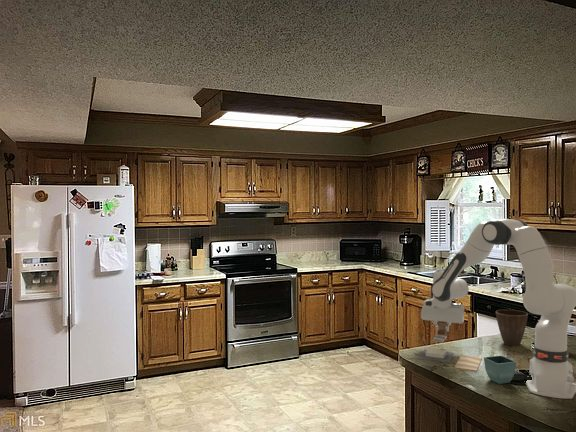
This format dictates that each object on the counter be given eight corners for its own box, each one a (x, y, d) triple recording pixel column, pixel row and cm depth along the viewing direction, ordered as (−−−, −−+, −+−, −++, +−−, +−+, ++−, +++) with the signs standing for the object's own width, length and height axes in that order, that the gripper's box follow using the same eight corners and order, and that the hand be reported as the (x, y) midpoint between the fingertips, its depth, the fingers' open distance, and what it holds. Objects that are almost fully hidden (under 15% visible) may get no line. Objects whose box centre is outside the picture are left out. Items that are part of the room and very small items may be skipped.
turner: (442, 342, 231) (442, 327, 231) (431, 341, 233) (431, 326, 233) (448, 335, 244) (448, 321, 244) (437, 334, 246) (437, 320, 246)
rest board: (476, 372, 208) (476, 370, 208) (454, 368, 213) (454, 367, 213) (482, 359, 226) (482, 357, 226) (461, 356, 230) (461, 354, 230)
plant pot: (490, 343, 252) (490, 312, 252) (504, 338, 262) (504, 308, 262) (519, 349, 241) (519, 317, 241) (533, 344, 251) (533, 312, 250)
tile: (446, 354, 232) (443, 358, 225) (429, 352, 236) (425, 356, 229) (446, 350, 232) (443, 354, 225) (429, 347, 236) (425, 352, 229)
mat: (448, 363, 220) (448, 362, 220) (417, 358, 227) (417, 357, 227) (454, 353, 235) (454, 352, 235) (424, 349, 241) (424, 349, 241)
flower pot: (497, 386, 192) (497, 363, 191) (483, 379, 200) (483, 357, 200) (516, 384, 194) (516, 361, 194) (501, 377, 202) (501, 355, 202)
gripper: (465, 303, 241) (465, 331, 241) (422, 299, 251) (422, 326, 251) (463, 305, 236) (463, 334, 236) (420, 301, 245) (420, 329, 245)
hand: (442, 330), depth 243 cm, fingers closed on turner, 3 cm apart
